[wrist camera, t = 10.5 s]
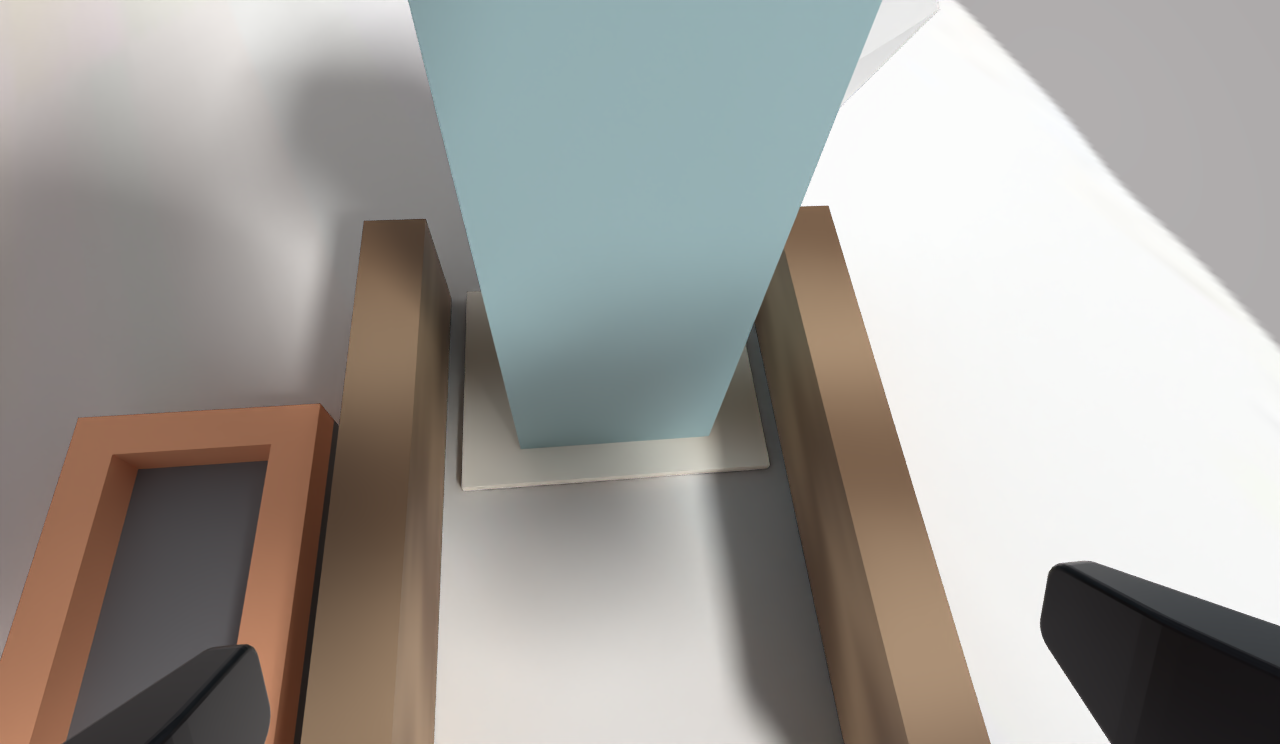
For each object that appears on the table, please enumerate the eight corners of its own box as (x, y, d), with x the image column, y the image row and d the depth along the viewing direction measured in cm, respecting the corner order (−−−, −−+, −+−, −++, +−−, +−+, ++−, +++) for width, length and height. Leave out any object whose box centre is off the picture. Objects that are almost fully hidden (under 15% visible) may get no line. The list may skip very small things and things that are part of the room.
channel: (934, 840, 14) (1029, 871, 11) (347, 920, 13) (272, 979, 10) (793, 282, 21) (828, 205, 18) (399, 300, 20) (363, 220, 17)
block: (708, 435, 18) (893, -29, 7) (520, 449, 17) (400, -32, 6) (684, 284, 20) (794, -245, 9) (518, 291, 20) (425, -259, 9)
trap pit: (291, 836, 14) (259, 847, 12) (-5, 872, 13) (-73, 888, 12) (340, 427, 18) (320, 403, 16) (117, 442, 17) (78, 418, 16)
